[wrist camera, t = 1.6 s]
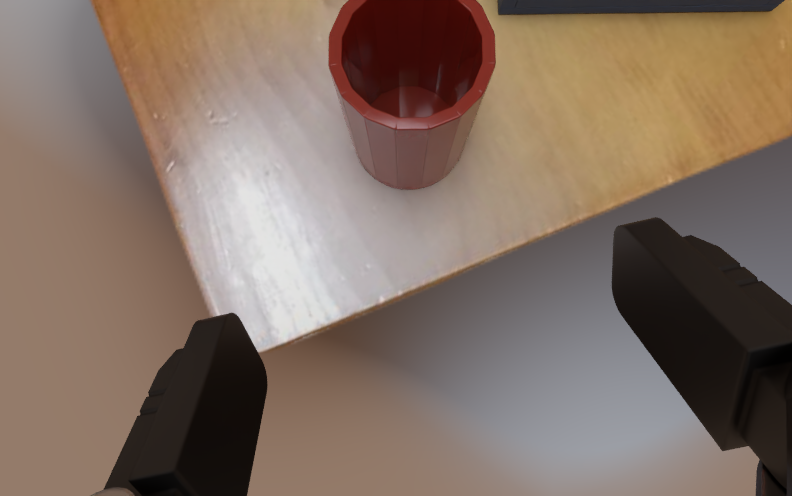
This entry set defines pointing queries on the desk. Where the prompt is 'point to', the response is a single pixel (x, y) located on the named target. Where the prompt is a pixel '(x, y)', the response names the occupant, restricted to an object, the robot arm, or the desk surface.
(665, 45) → the desk surface
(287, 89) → the desk surface
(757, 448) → the robot arm
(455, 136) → the red cup
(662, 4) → the blue tray
